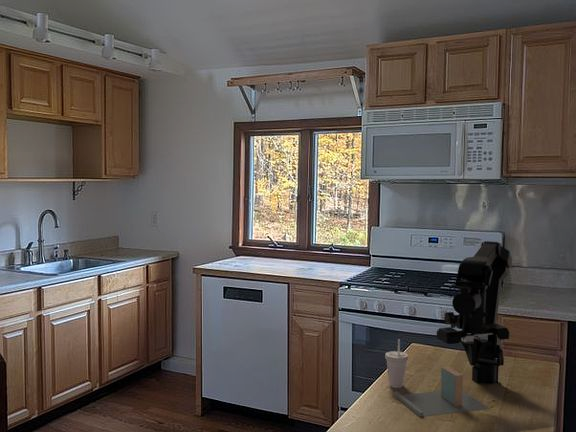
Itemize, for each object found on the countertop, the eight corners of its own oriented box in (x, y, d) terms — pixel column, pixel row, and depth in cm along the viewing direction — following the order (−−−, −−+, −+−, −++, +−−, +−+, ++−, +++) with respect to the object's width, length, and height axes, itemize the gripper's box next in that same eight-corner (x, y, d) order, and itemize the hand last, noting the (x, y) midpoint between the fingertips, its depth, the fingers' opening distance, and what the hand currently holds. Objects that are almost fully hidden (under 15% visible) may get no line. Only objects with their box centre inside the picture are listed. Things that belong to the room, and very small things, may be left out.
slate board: (459, 391, 160) (459, 385, 160) (490, 411, 147) (490, 404, 147) (394, 398, 155) (394, 392, 155) (419, 419, 142) (419, 412, 141)
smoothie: (407, 393, 159) (408, 343, 158) (384, 391, 160) (384, 341, 159) (407, 384, 165) (408, 336, 164) (384, 383, 167) (385, 335, 166)
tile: (447, 395, 155) (448, 366, 155) (462, 405, 149) (462, 375, 148) (440, 396, 155) (441, 367, 154) (454, 406, 148) (455, 375, 147)
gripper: (486, 298, 162) (484, 353, 163) (426, 302, 157) (425, 358, 158) (511, 307, 151) (509, 366, 152) (448, 312, 146) (447, 372, 147)
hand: (472, 365), depth 153 cm, fingers closed
